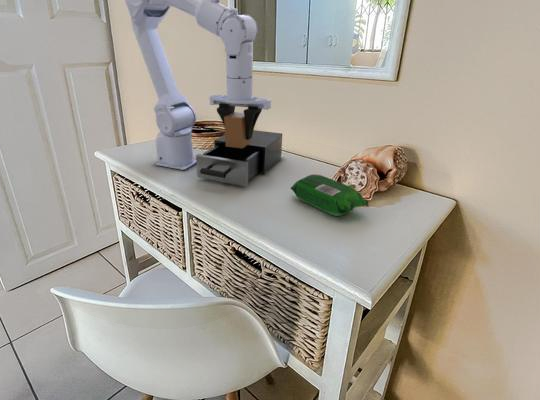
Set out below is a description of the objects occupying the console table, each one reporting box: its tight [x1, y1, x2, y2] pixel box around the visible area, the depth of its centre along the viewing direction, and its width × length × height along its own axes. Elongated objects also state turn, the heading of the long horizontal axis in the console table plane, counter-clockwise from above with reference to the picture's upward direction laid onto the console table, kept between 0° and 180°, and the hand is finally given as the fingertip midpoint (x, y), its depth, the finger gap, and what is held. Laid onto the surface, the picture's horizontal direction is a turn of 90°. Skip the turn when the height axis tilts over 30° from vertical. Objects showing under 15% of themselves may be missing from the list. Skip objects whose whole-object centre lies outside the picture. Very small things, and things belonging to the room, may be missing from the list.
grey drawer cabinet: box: [213, 129, 283, 176], centre depth 92 cm, size 13×14×7 cm
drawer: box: [195, 144, 263, 187], centre depth 81 cm, size 17×13×6 cm
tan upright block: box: [223, 111, 251, 148], centre depth 78 cm, size 4×5×7 cm
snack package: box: [290, 173, 369, 217], centre depth 69 cm, size 7×16×5 cm, turn 35°
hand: (239, 137), depth 79 cm, fingers closed on tan upright block, 4 cm apart
